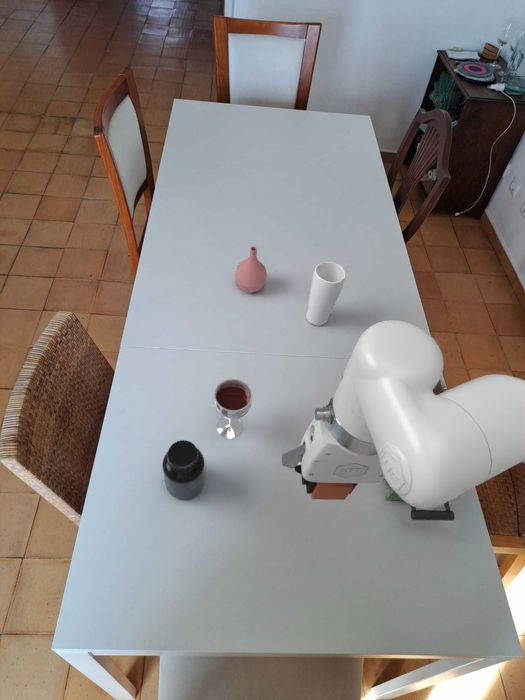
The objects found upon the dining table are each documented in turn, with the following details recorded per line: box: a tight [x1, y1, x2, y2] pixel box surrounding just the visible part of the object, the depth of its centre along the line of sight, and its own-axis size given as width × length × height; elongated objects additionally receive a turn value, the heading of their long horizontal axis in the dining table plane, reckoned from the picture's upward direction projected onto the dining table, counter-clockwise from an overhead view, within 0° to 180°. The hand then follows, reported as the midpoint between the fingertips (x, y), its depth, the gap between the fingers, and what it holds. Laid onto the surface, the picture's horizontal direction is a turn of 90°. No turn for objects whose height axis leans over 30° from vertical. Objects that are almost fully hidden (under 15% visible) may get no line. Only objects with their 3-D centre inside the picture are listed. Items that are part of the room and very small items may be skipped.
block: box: [310, 482, 353, 501], centre depth 60 cm, size 4×4×4 cm
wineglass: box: [213, 378, 253, 440], centre depth 84 cm, size 7×7×12 cm
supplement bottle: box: [162, 439, 206, 501], centre depth 76 cm, size 7×7×12 cm
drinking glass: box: [305, 261, 347, 327], centre depth 102 cm, size 7×7×15 cm
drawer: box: [384, 481, 456, 522], centre depth 82 cm, size 20×11×8 cm, turn 1°
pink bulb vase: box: [234, 246, 268, 293], centre depth 107 cm, size 8×8×12 cm
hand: (327, 482), depth 62 cm, fingers closed on block, 4 cm apart
